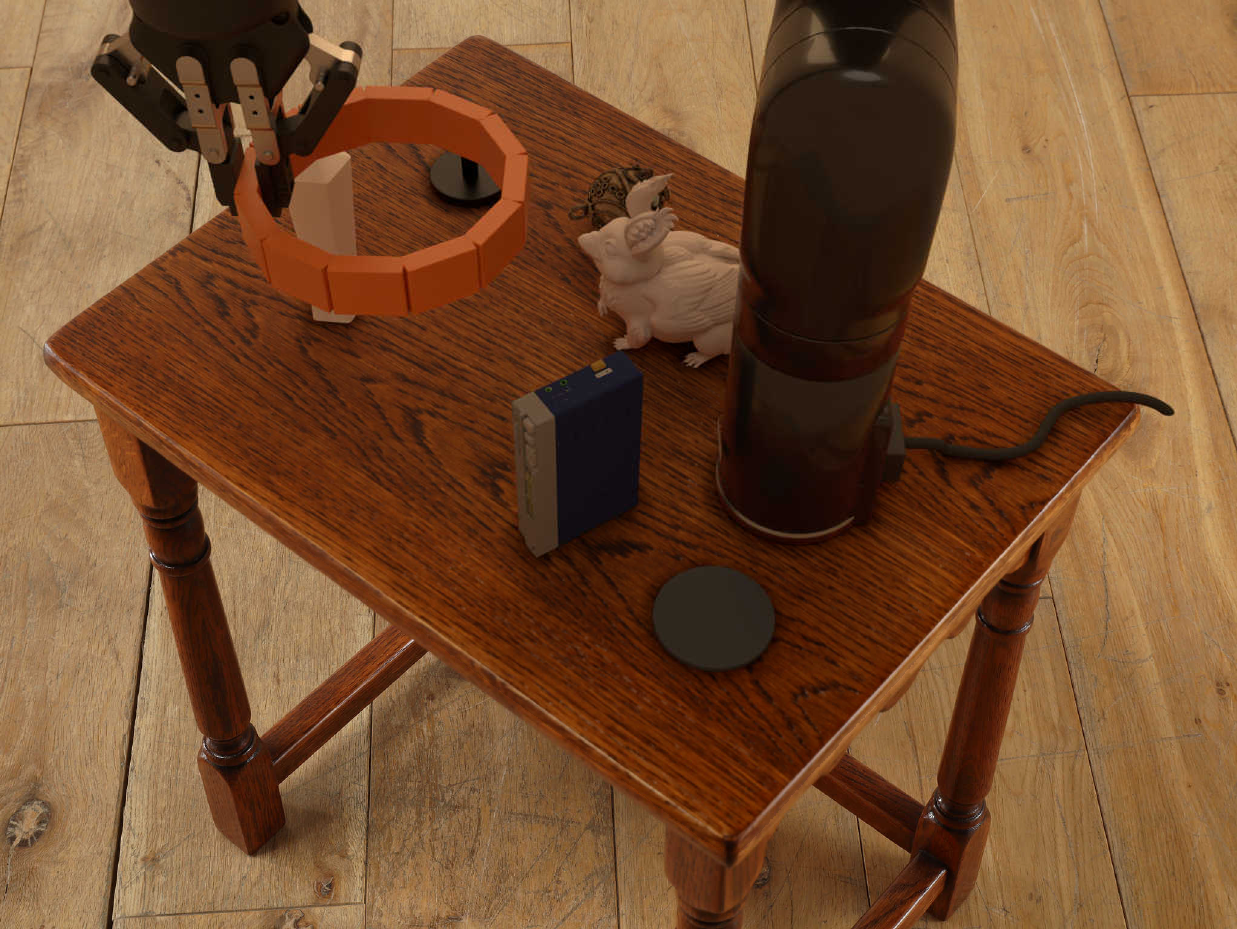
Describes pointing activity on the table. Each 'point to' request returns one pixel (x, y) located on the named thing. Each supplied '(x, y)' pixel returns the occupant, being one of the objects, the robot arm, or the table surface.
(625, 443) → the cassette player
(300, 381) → the table surface
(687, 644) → the coaster
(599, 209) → the pendant
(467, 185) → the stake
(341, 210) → the perfume bottle
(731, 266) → the figurine
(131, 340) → the table surface
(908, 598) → the table surface
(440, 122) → the hoop
